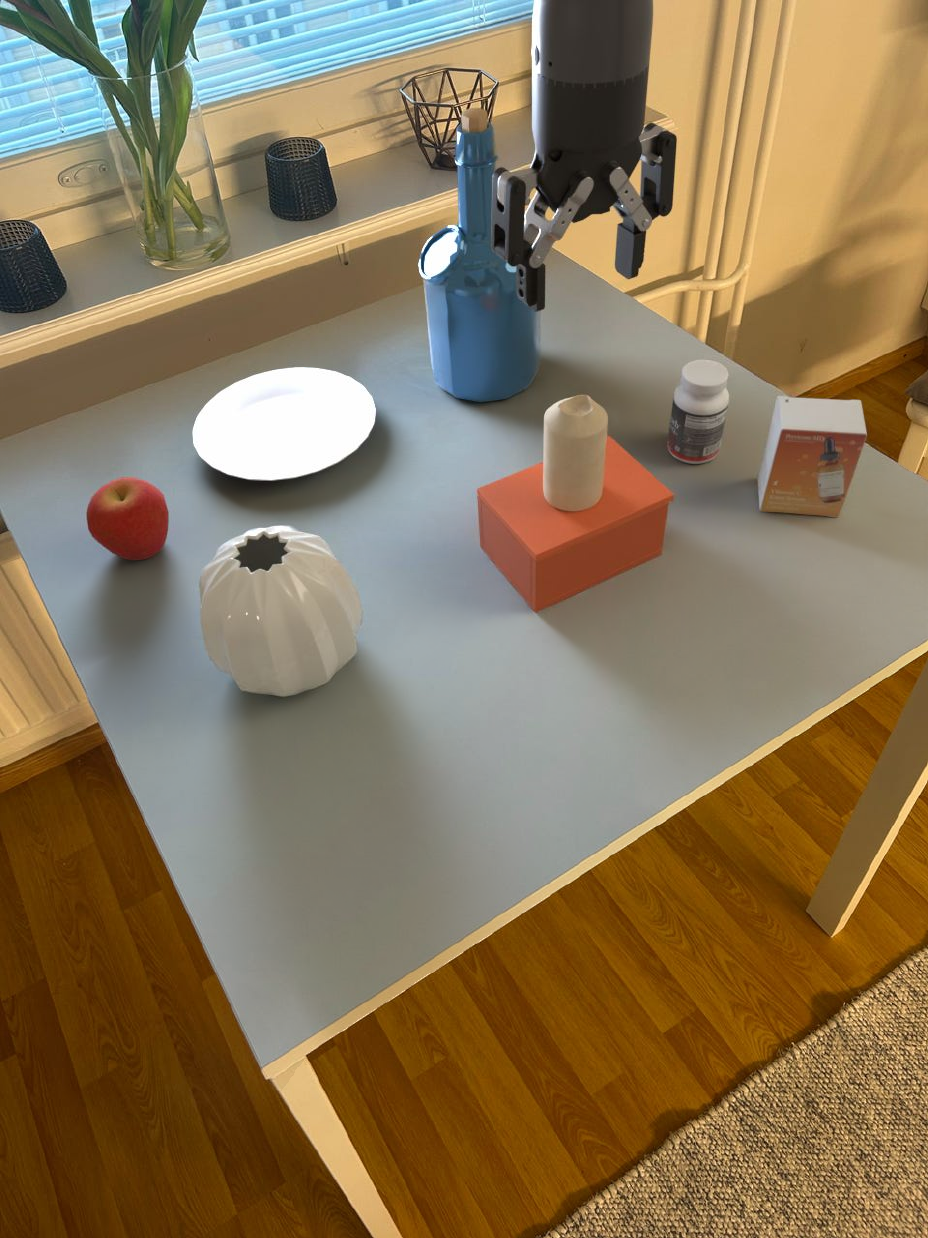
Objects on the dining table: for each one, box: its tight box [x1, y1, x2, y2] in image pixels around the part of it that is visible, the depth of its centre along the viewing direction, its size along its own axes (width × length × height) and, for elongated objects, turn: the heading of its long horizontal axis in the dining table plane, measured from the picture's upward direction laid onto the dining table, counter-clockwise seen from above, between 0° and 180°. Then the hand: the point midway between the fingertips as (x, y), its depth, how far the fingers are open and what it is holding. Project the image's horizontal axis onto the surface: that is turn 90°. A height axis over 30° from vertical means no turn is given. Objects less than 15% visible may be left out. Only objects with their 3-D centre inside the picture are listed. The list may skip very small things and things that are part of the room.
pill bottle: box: [666, 359, 730, 465], centre depth 99 cm, size 6×6×10 cm
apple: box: [85, 476, 170, 561], centre depth 94 cm, size 8×8×8 cm
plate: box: [192, 366, 377, 482], centre depth 107 cm, size 21×21×2 cm
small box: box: [757, 395, 868, 518], centre depth 92 cm, size 8×6×10 cm
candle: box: [542, 394, 609, 511], centre depth 83 cm, size 6×6×10 cm
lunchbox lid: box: [476, 434, 675, 561], centre depth 88 cm, size 15×11×1 cm
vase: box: [198, 525, 363, 698], centre depth 81 cm, size 14×14×13 cm
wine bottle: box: [418, 107, 542, 403], centre depth 103 cm, size 14×13×30 cm
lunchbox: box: [476, 495, 670, 613], centre depth 90 cm, size 15×11×7 cm
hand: (580, 289), depth 72 cm, fingers open, 8 cm apart
